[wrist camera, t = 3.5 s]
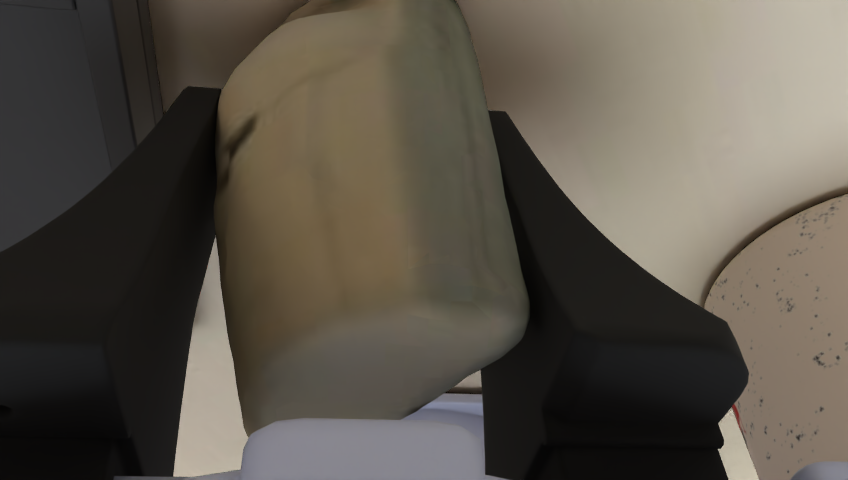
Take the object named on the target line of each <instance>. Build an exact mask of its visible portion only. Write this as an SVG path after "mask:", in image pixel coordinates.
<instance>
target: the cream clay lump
mask: <svg viewBox="0 0 848 480" xmlns="http://www.w3.org/2000/svg"><path fill="white" fill-rule="evenodd" d="M215 159H216V171H217V189H216V196H215V202H214V223H215V232H216V241H217V248H218V256H219V266H220V281H221V289H222V297H223V304H224V310H225V318H226V325H227V333H228V338H229V343H230V348H231V352H232V357H233V361H234V369H235V376H236V384H237V390H238V396H239V401H240V406H241V412H242V418H243V424H244V429H245V431H246V433H247V436H248V437H250V435H251V434H252V433H254V432H255V431H257V430H259V429H261V428H263V427H265V426H267V425H269V424H271V423H273V422H276V421H282V420H290V419H299V418H329V419H375V420H401V419H403V418H405V417H407V416H409V415H411V414H413V413H415V412H417V411H418V410H419V409H421V408H422V407H423V406H425V405H427V404H428V403H430V402H432V401H433V400H435V399H437V398H438V397H439V396H441V395H442V394H444V393H445V392H446V391H448V390H449V389H451V388H452V387H454V386H455V385H457V384H458V383H459V382H460V381H462V380H463V379H464V378H466V377H467V376H469V375H471V374H473V373H475V372H477V371H479V370H480V369H482V368H484V367H485V366H487V365H489V364H491V363H492V362H494V361H496V360H498V359H500V358H501V357H502V356H504V355H505V354H506V353H507V352H509V351H510V350H511V349H512V348H513V347H515V346H516V345H517V344H518V343H519V342H520V341H521V339H522V337H523V336H524V334H525V331H526V328H527V325H528V322H529V319H530V300H529V296H528V292H527V288H526V285H525V281H524V278H523V274H522V270H521V265H520V261H519V256H518V251H517V246H516V242H515V238H514V233H513V229H512V225H511V220H510V215H509V211H508V207H507V203H506V199H505V194H504V187H503V181H502V175H501V168H500V162H499V157H498V152H497V148H496V144H495V140H494V136H493V131H492V127H491V122H490V117H489V112H488V107H487V103H486V98H485V93H484V88H483V83H482V78H481V74H480V69H479V64H478V60H477V57H476V53H475V50H474V47H473V43H472V41H471V36H470V32H469V29H468V26H467V24H466V22H465V20H464V17H463V15H462V13H461V11H460V9H459V7H458V5H457V3H456V1H455V0H311V1H310V2H308V3H307V4H305V5H304V6H302V7H300V8H299V9H297V10H295V11H294V12H292V13H290V15H289V17H288V18H287V19H286V20H285V21H284V23H283V24H282V25H281V26H280V27H279V28H278V29H276V30H275V31H273V32H272V33H271V34H269V35H268V36H267V37H266V38H265V39H264V40H263V41H262V42H261V43H260V44H259V45H258V46H257V47H256V48H255V49H254V50H253V51H252V52H251V53H250V54H249V55H248V56H247V57H246V58H245V59H244V60H243V61H242V62H241V63H240V64H239V65H238V66H237V67H236V68H235V69H234V71H233V72H232V74H231V76H230V78H229V80H228V81H227V83H226V85H225V86H224V88H223V90H222V91H221V94H220V98H219V103H218V110H217V119H216V131H215Z"/></svg>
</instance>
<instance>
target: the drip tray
mask: <svg viewBox="0 0 848 480" xmlns="http://www.w3.org/2000/svg"><path fill="white" fill-rule="evenodd" d="M162 117H163V109H162V102H161V95H160V87H159V80H158V73H157V66H156V58H155V51H154V44H153V36H152V29H151V22H150V15H149V7H148V0H0V252H1V251H3V250H5V249H7V248H9V247H11V246H12V245H14V244H16V243H18V242H19V241H21V240H23V239H24V238H26V237H28V236H29V235H31V234H33V233H34V232H36V231H37V230H39V229H40V228H42V227H43V226H45V225H46V224H48V223H49V222H51V221H52V220H54V219H55V218H57V217H58V216H59V215H61V214H62V213H64V212H65V211H66V210H68V209H69V208H70V207H72V206H73V205H74V204H76V203H77V202H78V201H79V200H81V199H82V198H83V197H84V196H86V195H87V194H88V193H89V192H90V191H92V190H93V189H94V188H95V187H96V186H97V185H98V184H100V183H101V182H102V181H103V180H104V179H105V178H106V177H107V176H108V175H109V174H110V173H111V172H112V171H113V170H114V169H115V168H116V167H117V166H118V165H119V164H121V163H122V162H123V161H124V160H125V159H126V158H127V157H128V156H129V155H130V154H131V153H132V151H133V150H134V149H135V148H136V147H137V146H138V145H139V144H140V143H141V142H142V140H143V139H144V138H145V137H146V136H147V135H148V134H149V133H150V131H151V130H152V129H153V128H154V127H155V126H156V124H157V123H158V122H159V121H160V120H161V118H162Z"/></svg>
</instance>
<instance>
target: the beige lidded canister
mask: <svg viewBox="0 0 848 480" xmlns="http://www.w3.org/2000/svg"><path fill="white" fill-rule="evenodd" d="M704 309H705V310H707V311H709V312H711V313H712V314H714V315H716V316H718V317H719V318H721V319H723V320H725V321H726V322H727V323H728V325H729V327H730V329H731V331H732V333H733V335H734V337H735V339H736V341H737V343H738V345H739V348H740V350H741V353H742V356H743V358H744V361H745V363H746V366H747V368H748V371H749V379H748V384H747V386H746V387H745V389H744V391H743V393H742V394H741V396H740V397H739V398H738V400H737V401H736V402H735V403H734V405H733V406H732V409H733V412H734V415H735V417H736V420H737V422H738V425H739V428H740V430H741V433H742V436H743V438H744V441H745V443H746V446H747V449H748V451H749V454H750V456H751V459H752V462H753V464H754V467H755V469H756V472H757V475H758V477H759V480H790V479H791V478H792V477H793V475H794V474H795V473H796V472H797V471H798V470H799V469H801V468H803V467H804V466H806V465H809V464H812V463H815V462H824V461H835V462H848V194H846V195H843V196H840V197H837V198H834V199H831V200H828V201H826V202H823V203H820V204H818V205H815V206H813V207H811V208H809V209H806V210H804V211H802V212H800V213H798V214H796V215H794V216H792V217H790V218H788V219H786V220H785V221H783V222H781V223H780V224H778V225H776V226H775V227H773V228H771V229H770V230H768V231H767V232H765V233H764V234H762V235H761V236H759V237H758V238H757V239H755V240H754V241H753V242H752V243H750V244H749V245H748V246H747V247H745V248H744V249H743V250H742V251H741V252H740V253H739V254H738V255H737V256H735V258H734V259H733V260H732V261H731V262H730V263H729V264H728V265H727V266H726V267H725V269H724V270H723V271H722V272H721V274H720V275H719V277H718V278H717V280H716V281H715V283H714V284H713V286H712V288H711V290H710V292H709V294H708V296H707V299H706V302H705V306H704Z"/></svg>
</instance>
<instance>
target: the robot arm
mask: <svg viewBox="0 0 848 480" xmlns="http://www.w3.org/2000/svg"><path fill="white" fill-rule="evenodd" d="M220 94H221V89H217V88H205V87H192V86H188V87H187V88H185V89H184V90H183V91H182V92H181V94H180V95H179V96H178V98H177V99H176V100H175V102H174V103H173V104H172V106H171V107H170V108H169V110H168V111H167V112H166V113H165V115H164V116H163V117H162V118H161V120H160V121H159V122H158V123H157V124H156V126H155V127H154V128H153V129H152V130H151V131H150V133H149V134H148V135H147V136H146V137H145V138H144V139H143V140H142V142H141V143H140V144H139V145H138V146H137V147H136V148H135V149H134V150H133V151H132V153H131V154H130V155H129V156H128V157H127V158H126V159H125V160H124V161H123V162H122V163H121V164H119V165H118V166H117V167H116V168H115V169H114V170H113V171H112V172H111V173H110V174H109V175H108V176H107V177H106V178H105V179H104V180H103V181H102V182H101V183H100V184H98V185H97V186H96V187H95V188H94V189H93V190H92V191H90V192H89V193H88V194H87V195H86V196H84V197H83V198H82V199H81V200H79V201H78V202H77V203H76V204H74V205H73V206H72V207H70V208H69V209H68V210H66V211H65V212H64V213H62V214H61V215H59V216H58V217H57V218H55V219H54V220H52V221H51V222H49V223H48V224H46V225H45V226H43V227H42V228H40V229H39V230H37V231H36V232H34V233H33V234H31V235H29V236H28V237H26V238H24V239H23V240H21V241H19V242H18V243H16V244H14V245H12V246H11V247H9V248H7V249H5V250H3V251H1V252H0V480H728V477H727V474H726V471H725V468H724V466H723V463H722V460H721V457H720V454H719V451H718V449H721V447H722V446H723V445H724V439H723V436H722V433H721V431H720V428H719V425H718V423H719V422H720V420H721V419H722V418H723V417H724V416H725V414H726V413H727V412H728V411H729V409H730V408H731V407H732V406H733V405H734V403H735V402H736V401H737V400H738V398H739V397H740V396H741V394H742V393H743V391H744V389H745V387H746V386H747V384H748V379H749V371H748V368H747V366H746V363H745V361H744V358H743V356H742V353H741V350H740V348H739V345H738V343H737V341H736V339H735V337H734V335H733V333H732V331H731V329H730V327H729V325H728V323H727V322H726V321H725V320H723V319H721V318H719V317H718V316H716V315H714V314H712V313H711V312H709V311H707V310H705V309H704V308H702V307H700V306H699V305H697V304H695V303H693V302H692V301H690V300H688V299H686V298H685V297H683V296H682V295H680V294H679V293H677V292H676V291H674V290H673V289H671V288H670V287H668V286H667V285H665V284H664V283H662V282H661V281H659V280H658V279H657V278H655V277H654V276H653V275H651V274H650V273H648V272H647V271H646V270H644V269H643V268H642V267H640V266H639V265H638V264H637V263H636V262H634V261H633V260H632V259H631V258H629V257H628V256H627V255H626V254H624V253H623V252H622V251H621V250H620V249H618V248H617V247H616V246H615V245H614V244H613V243H612V242H610V241H609V240H608V239H607V238H606V237H605V236H604V235H603V234H602V233H601V232H600V231H599V230H598V229H597V228H596V227H595V226H594V225H593V224H592V223H591V222H590V221H589V220H588V219H587V218H586V217H585V216H584V215H583V214H582V213H581V212H580V211H579V210H578V209H577V208H576V206H575V205H574V204H573V203H572V202H571V201H570V199H569V198H568V197H567V196H566V195H565V194H564V193H563V191H562V190H561V189H560V188H559V186H558V185H557V184H556V182H555V181H554V180H553V179H552V177H551V176H550V175H549V173H548V172H547V171H546V169H545V168H544V167H543V165H542V164H541V163H540V161H539V160H538V158H537V157H536V156H535V154H534V153H533V151H532V150H531V148H530V147H529V145H528V144H527V143H526V141H525V140H524V138H523V137H522V135H521V134H520V132H519V131H518V129H517V128H516V126H515V125H514V123H513V122H512V120H511V119H510V117H509V116H508V115H507V113H506V112H505V111H492V110H488V112H489V117H490V122H491V127H492V131H493V136H494V140H495V144H496V148H497V152H498V157H499V162H500V168H501V175H502V181H503V187H504V194H505V199H506V203H507V207H508V211H509V215H510V220H511V225H512V229H513V233H514V238H515V242H516V246H517V251H518V256H519V261H520V265H521V270H522V274H523V278H524V281H525V285H526V288H527V292H528V296H529V300H530V319H529V322H528V325H527V328H526V331H525V334H524V336H523V337H522V339H521V341H520V342H519V343H518V344H517V345H516V346H515V347H513V348H512V349H511V350H510V351H509V352H507V353H506V354H505V355H504V356H502V357H501V358H500V359H498V360H496V361H494V362H492V363H491V364H489V365H487V366H485V367H484V368H482V369H481V382H482V394H449V393H444V394H442V395H441V396H439V397H438V398H437V399H435V400H433V401H432V402H430V403H428V404H427V405H425V406H423V407H422V408H421V409H419V410H418V411H417V412H415V413H413V414H411V415H409V416H407V417H405V418H403V419H401V420H375V419H329V418H299V419H290V420H282V421H276V422H273V423H271V424H269V425H267V426H265V427H263V428H261V429H259V430H257V431H255V432H254V433H252V434H251V435H250V437H249V439H248V441H247V443H246V445H245V447H244V449H243V457H242V465H241V470H235V471H228V472H222V473H215V474H209V475H203V476H196V477H173V472H174V463H175V454H176V446H177V438H178V429H179V421H180V413H181V405H182V398H183V390H184V383H185V376H186V368H187V361H188V354H189V348H190V341H191V334H192V327H193V321H194V317H195V312H196V307H197V303H198V299H199V296H200V292H201V288H202V284H203V280H204V277H205V273H206V269H207V265H208V262H209V258H210V254H211V250H212V247H213V243H214V239H215V235H216V232H215V223H214V202H215V196H216V189H217V171H216V159H215V131H216V119H217V110H218V103H219V98H220ZM790 480H848V462H835V461H824V462H815V463H812V464H809V465H806V466H804V467H803V468H801V469H799V470H798V471H797V472H796V473H795V474H794V475H793V477H792V478H791V479H790Z"/></svg>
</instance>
